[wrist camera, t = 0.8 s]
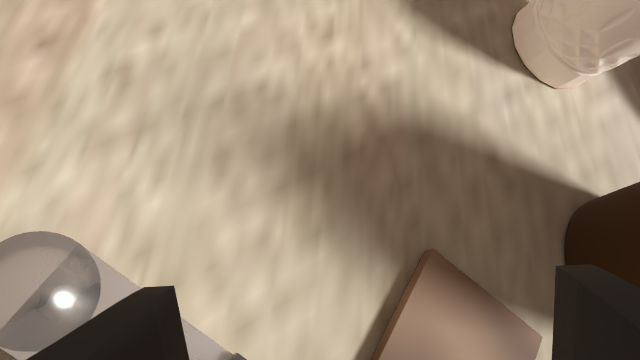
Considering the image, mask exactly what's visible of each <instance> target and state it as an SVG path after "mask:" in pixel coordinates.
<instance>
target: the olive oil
mask: <svg viewBox="0 0 640 360" xmlns="http://www.w3.org/2000/svg"><path fill="white" fill-rule="evenodd" d="M565 254H566V263H567V266H568V265H587V264H592V265H594V266H597V267H599V268H601V269H603V270H605V271H607V272H610V273H612V274H614V275H615V276H617V277H619V278H621V279H623V280H625V281H627V282H629V283H631V284H633V285H634V286H636V287H638V288H640V182H638V183H635V184H633V185H630V186H627V187H625V188H622V189H620V190H617V191H614V192H612V193H609V194H607V195H604V196H601V197H599V198H596V199H594V200H591V201H589V202H587V203H586V204H584V205H583V206H581V207H580V208H579V209H578V210H577V211H576V213H575V214H574V215H573V217H572V219H571V221H570V224H569V227H568V230H567V235H566V243H565Z"/></svg>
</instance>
